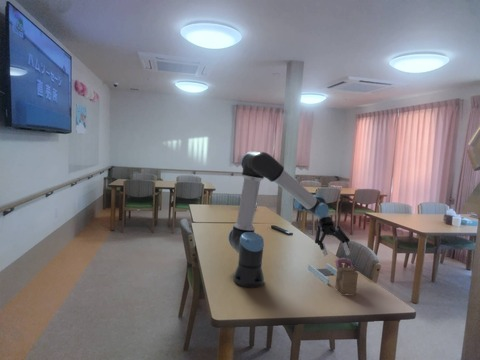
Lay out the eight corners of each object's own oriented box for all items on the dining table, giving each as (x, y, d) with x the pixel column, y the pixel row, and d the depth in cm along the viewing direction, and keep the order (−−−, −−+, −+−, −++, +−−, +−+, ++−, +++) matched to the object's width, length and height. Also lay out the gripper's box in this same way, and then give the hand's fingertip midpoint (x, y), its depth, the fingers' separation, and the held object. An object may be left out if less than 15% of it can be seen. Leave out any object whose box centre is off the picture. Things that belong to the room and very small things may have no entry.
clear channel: (307, 269, 175) (308, 264, 175) (327, 268, 179) (327, 263, 178) (327, 284, 156) (327, 279, 156) (348, 283, 160) (349, 278, 159)
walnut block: (335, 288, 153) (337, 267, 152) (348, 288, 154) (350, 267, 153) (341, 295, 146) (344, 273, 145) (355, 295, 147) (358, 273, 146)
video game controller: (350, 270, 182) (350, 258, 185) (354, 270, 178) (353, 257, 181) (334, 269, 182) (334, 257, 184) (337, 269, 178) (336, 256, 180)
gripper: (340, 223, 179) (353, 257, 166) (302, 222, 171) (313, 258, 159) (347, 216, 173) (361, 251, 160) (307, 215, 166) (319, 252, 153)
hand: (337, 254), depth 160 cm, fingers open, 13 cm apart
